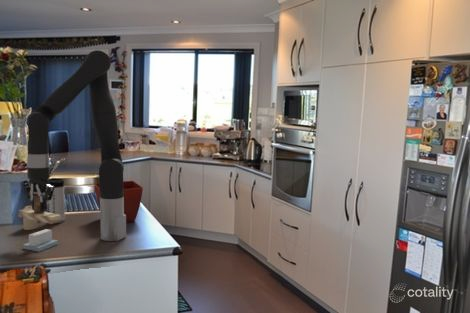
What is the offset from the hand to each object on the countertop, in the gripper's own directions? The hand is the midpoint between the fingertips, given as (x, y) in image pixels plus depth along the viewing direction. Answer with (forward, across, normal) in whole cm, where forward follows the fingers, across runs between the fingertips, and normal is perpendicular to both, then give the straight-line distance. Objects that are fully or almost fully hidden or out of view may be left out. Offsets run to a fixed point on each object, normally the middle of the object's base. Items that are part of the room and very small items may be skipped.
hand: (39, 210), depth 150 cm
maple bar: (+3, 0, 0) cm, 3 cm away
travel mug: (+14, +20, -28) cm, 37 cm away
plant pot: (+14, -3, -43) cm, 45 cm away
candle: (+14, +22, -15) cm, 30 cm away
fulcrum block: (+14, 0, 0) cm, 14 cm away
